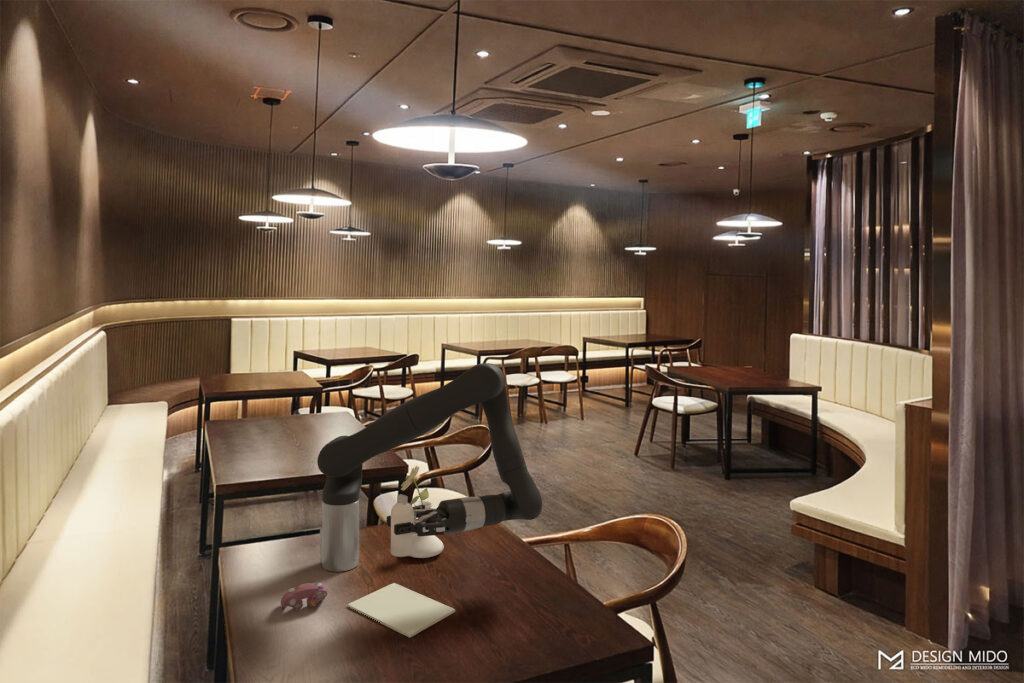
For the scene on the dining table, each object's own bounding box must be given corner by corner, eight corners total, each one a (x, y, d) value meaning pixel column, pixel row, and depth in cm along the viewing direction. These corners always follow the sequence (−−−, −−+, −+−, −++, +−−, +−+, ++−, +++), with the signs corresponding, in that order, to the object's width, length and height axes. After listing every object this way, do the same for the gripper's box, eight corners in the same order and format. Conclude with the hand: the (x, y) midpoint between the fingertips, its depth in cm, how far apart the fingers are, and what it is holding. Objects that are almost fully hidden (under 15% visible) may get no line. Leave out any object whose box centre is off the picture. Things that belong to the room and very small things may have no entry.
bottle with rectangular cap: (386, 552, 146) (386, 496, 144) (402, 545, 150) (402, 490, 148) (401, 558, 143) (401, 501, 141) (418, 551, 147) (418, 495, 145)
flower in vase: (421, 541, 186) (423, 455, 184) (452, 552, 179) (454, 462, 177) (387, 556, 175) (389, 465, 173) (418, 568, 169) (420, 473, 166)
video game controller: (282, 619, 145) (284, 598, 141) (278, 602, 148) (281, 581, 145) (327, 610, 149) (330, 589, 146) (323, 593, 153) (326, 573, 149)
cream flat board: (347, 606, 148) (347, 604, 148) (393, 585, 159) (393, 582, 159) (409, 637, 136) (409, 635, 136) (455, 611, 147) (455, 609, 147)
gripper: (450, 489, 158) (381, 499, 150) (474, 508, 146) (401, 519, 138) (449, 519, 159) (380, 530, 151) (474, 541, 146) (400, 554, 138)
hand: (390, 525), depth 144 cm, fingers closed on bottle with rectangular cap, 5 cm apart
